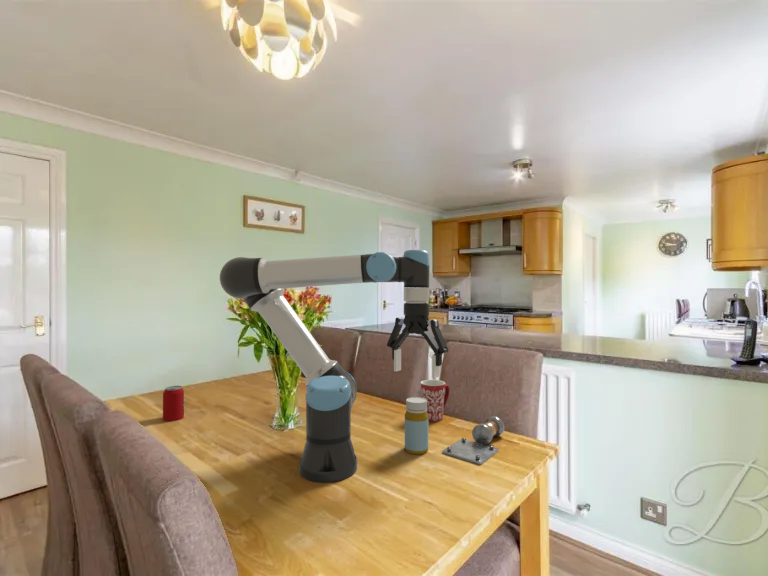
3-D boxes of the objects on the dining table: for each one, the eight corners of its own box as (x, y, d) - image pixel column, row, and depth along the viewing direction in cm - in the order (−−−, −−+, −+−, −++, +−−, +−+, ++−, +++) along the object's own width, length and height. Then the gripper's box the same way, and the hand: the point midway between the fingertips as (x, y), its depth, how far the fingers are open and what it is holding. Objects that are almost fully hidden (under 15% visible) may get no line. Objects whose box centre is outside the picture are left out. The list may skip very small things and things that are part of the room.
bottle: (429, 455, 114) (429, 403, 114) (405, 455, 114) (405, 403, 114) (427, 445, 121) (427, 396, 121) (404, 445, 121) (404, 396, 121)
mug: (432, 424, 139) (432, 386, 139) (415, 417, 147) (415, 381, 147) (457, 418, 147) (457, 381, 147) (440, 411, 154) (440, 377, 154)
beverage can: (187, 417, 146) (187, 385, 146) (176, 424, 140) (176, 390, 140) (170, 417, 147) (170, 385, 147) (158, 423, 140) (158, 389, 140)
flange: (480, 465, 108) (480, 443, 108) (442, 453, 115) (442, 432, 115) (513, 439, 126) (513, 420, 126) (478, 430, 134) (478, 412, 134)
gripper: (460, 303, 113) (459, 377, 113) (390, 301, 128) (390, 366, 128) (447, 303, 107) (446, 382, 107) (375, 301, 122) (375, 370, 122)
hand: (416, 373), depth 118 cm, fingers open, 13 cm apart
